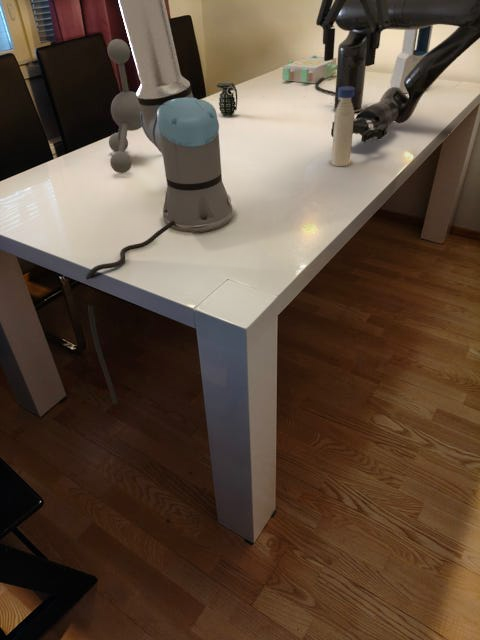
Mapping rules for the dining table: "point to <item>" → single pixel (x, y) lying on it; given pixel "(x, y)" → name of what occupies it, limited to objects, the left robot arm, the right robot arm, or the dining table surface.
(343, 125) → the bottle
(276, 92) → the dining table surface
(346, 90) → the cap
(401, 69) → the electronic device
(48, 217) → the dining table surface
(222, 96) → the grenade
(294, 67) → the decorative block
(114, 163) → the molecular model
